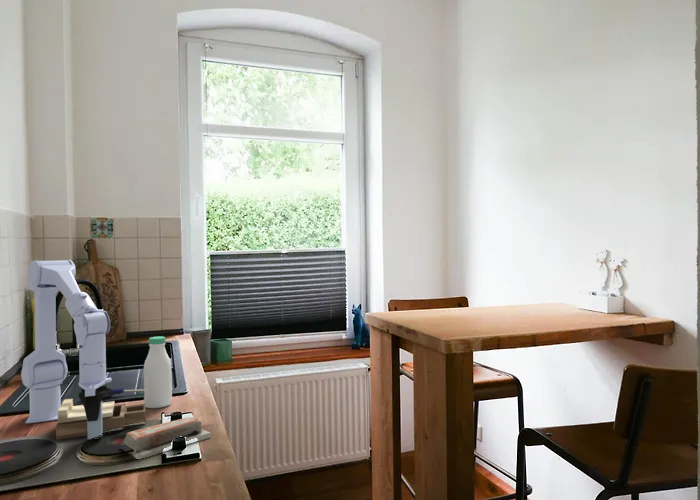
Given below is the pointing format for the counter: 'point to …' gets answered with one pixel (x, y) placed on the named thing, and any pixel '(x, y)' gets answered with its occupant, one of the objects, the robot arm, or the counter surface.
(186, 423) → the packaged product
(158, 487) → the counter surface
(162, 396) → the milk bottle
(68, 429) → the wooden compartment box
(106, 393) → the screwdriver
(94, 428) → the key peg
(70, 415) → the lid
